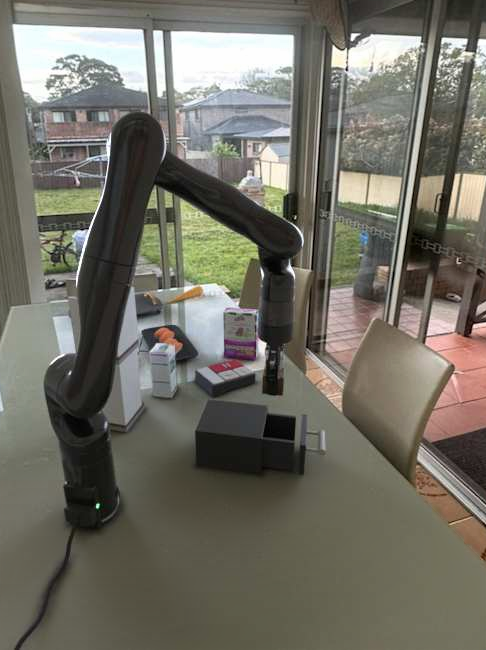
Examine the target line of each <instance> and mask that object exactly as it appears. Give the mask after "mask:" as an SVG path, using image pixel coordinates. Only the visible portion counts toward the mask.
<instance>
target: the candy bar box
mask: <svg viewBox="0 0 486 650" xmlns="http://www.w3.org/2000/svg"><path fill="white" fill-rule="evenodd" d="M259 340H260V339H259V338H258V309H254V308H241V307H240V308H239V307H226V308H225V310H224V311H223V358H231V359H239V360H241V359H242V360H243V359H244V360H252V361H256V360H257V358H258V356H259V343H260V342H259Z"/></svg>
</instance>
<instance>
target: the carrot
mask: <svg viewBox="0 0 486 650" xmlns="http://www.w3.org/2000/svg"><path fill="white" fill-rule="evenodd" d="M203 293H204V288H203V286H200V285H196V286H194V287H192V288H190V289H189V290H187V291H185V292H183V293H181V294H179V295H177V296H176V297H173V298H172V299H170V300H168V301H167V302H166V304H169V303H174V302H178V301H182V300H185V299H190V298H195V297H198V296H201V295H202V294H203Z"/></svg>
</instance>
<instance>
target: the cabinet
mask: <svg viewBox="0 0 486 650" xmlns="http://www.w3.org/2000/svg"><path fill="white" fill-rule="evenodd" d="M267 413H269V406H268V405H264V404H256V403H255V404H254V403H246V402H236V401H229V400H228V401H226V400H217V399H207V401H206V404H205V406H204V408H203V411H202V413H201V416H200V418H199V420H198V422H197V424H196V428H195V430H194V439H195V440H194V441H195V465H196V467H199V468H200V467H201V468H206V469H207V468H208V469H215V470H222V471H229V472H237V473H245V474H252V475H258V476H259V475H260V476H261V475H262V470H263V467H262V466H261V465H262V438H263V433H264V427H265V422H266V417H267Z"/></svg>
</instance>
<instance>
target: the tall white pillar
mask: <svg viewBox="0 0 486 650" xmlns="http://www.w3.org/2000/svg"><path fill="white" fill-rule="evenodd" d="M135 295H136V294H135V286H132V288H131V291H130V295H129V299H128V303H127V307H126V312H125V316H124V321H123V325H122V330H121V334H120V339H119V345H118V352H117V359H116V367H115V375H114V382H113V387H112V392H111V395H110V397H109V399H108V402H107V403H106V405H105V406H104V408H103V409H102V411H103V412H104V414H105V416H106V417H107V419H108V422H109V427H110V431H112V430H113V431H117V432H123V433H127V432H129V430H130V428H131V427H132V426H133V424H135V422H136V421H137V419H138V418H139V417H140V415H141V414H142V413H143V411H144V410H145V402H143V400H142V399H143V397H142V387H141V377H140V366H139V365H140V364H139V354H138V353H137V352H138V351H139V346H140V341H139V329H138V317H137V315H136V305H135ZM67 301H68V308H69V309H68V310H70V316H71V318H70V322H71V328H72V329H71V330H72V334H73V342H74V350H75V353H76V354H77V350H78V345H79V339H80V322H79V313H78V306H77V297H76V296H71V295H70V296H68V297H67Z"/></svg>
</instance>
